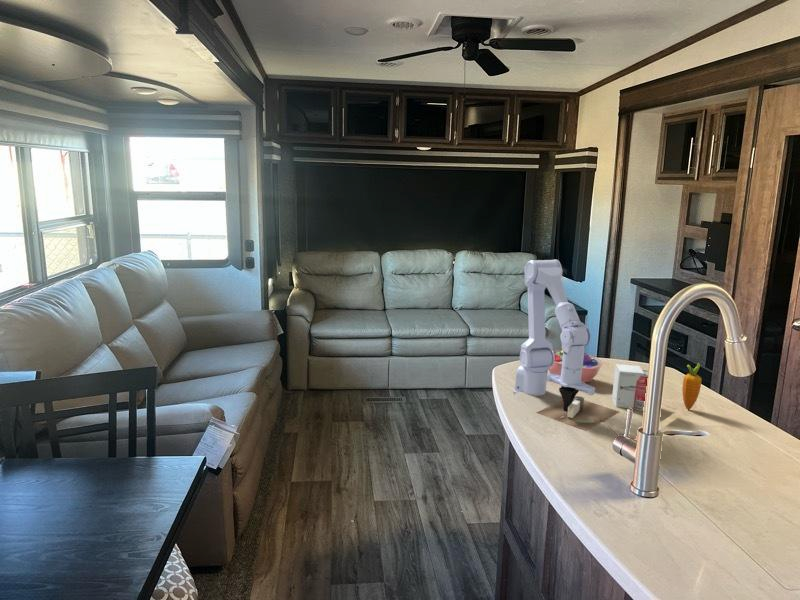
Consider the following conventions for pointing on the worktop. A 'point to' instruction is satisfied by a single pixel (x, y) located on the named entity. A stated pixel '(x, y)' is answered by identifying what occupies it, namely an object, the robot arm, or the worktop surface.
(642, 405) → the soda can
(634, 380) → the supplement box
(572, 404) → the peg
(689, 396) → the carrot
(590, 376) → the cell model
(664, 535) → the worktop surface
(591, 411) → the brown flat sheet
